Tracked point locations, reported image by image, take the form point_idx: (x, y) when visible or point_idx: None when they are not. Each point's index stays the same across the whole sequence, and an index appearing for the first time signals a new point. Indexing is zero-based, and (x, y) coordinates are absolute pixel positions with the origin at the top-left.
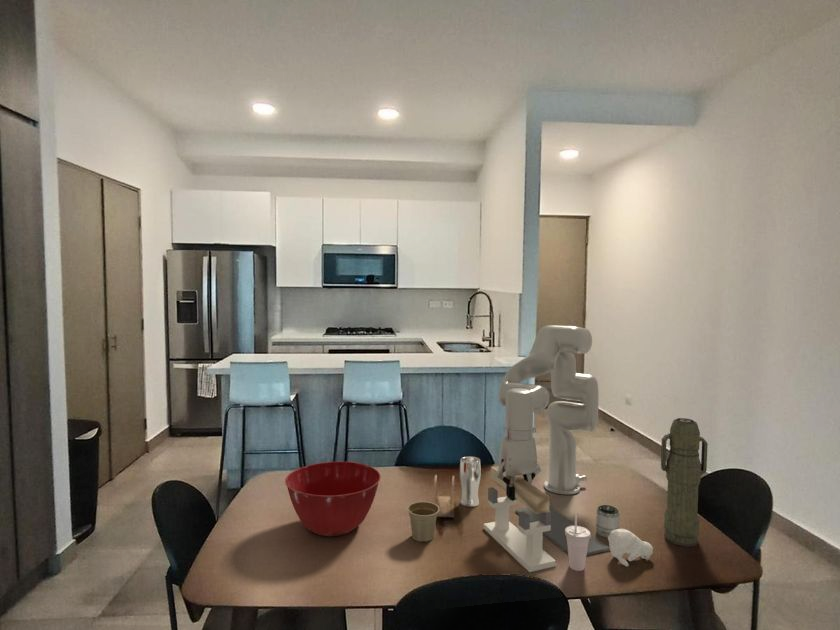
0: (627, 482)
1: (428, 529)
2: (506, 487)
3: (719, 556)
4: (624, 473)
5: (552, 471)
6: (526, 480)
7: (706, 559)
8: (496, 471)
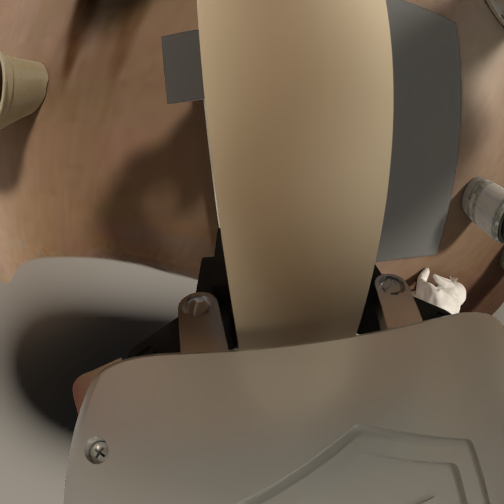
0: None
1: (12, 122)
2: (197, 289)
3: (497, 293)
4: None
5: None
6: (365, 329)
7: (486, 296)
8: (198, 14)
